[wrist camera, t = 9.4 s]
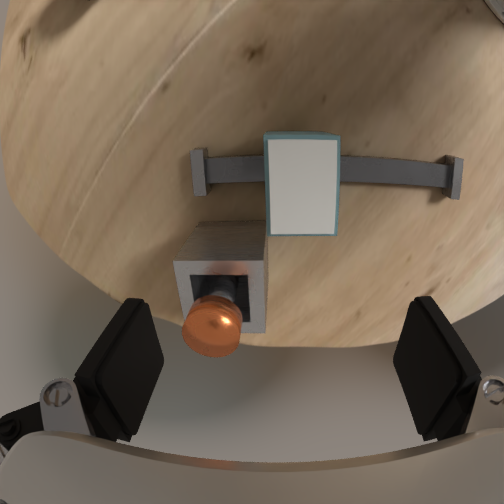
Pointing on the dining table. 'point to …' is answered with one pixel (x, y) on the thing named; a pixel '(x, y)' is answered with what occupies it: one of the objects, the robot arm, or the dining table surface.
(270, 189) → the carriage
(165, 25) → the dining table surface
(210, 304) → the plunger
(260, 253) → the grey button box
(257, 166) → the rail
